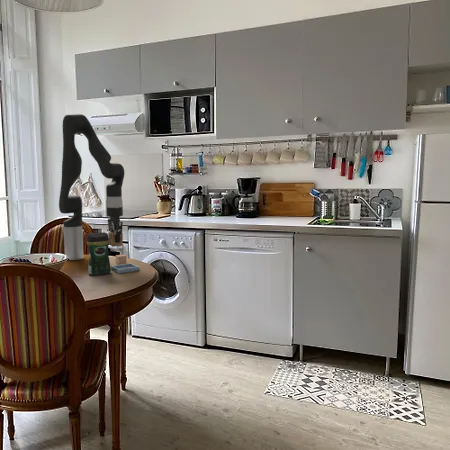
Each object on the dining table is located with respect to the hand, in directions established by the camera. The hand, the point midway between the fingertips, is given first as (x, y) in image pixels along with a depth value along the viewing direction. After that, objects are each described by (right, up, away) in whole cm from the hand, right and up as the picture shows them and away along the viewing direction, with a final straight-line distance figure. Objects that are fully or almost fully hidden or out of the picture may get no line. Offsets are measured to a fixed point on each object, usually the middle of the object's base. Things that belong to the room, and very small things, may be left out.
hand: (115, 241), depth 204 cm
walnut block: (0, -2, 0) cm, 2 cm away
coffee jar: (-4, -14, -12) cm, 19 cm away
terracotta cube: (0, -11, +10) cm, 15 cm away
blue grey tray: (+6, -13, -6) cm, 15 cm away
